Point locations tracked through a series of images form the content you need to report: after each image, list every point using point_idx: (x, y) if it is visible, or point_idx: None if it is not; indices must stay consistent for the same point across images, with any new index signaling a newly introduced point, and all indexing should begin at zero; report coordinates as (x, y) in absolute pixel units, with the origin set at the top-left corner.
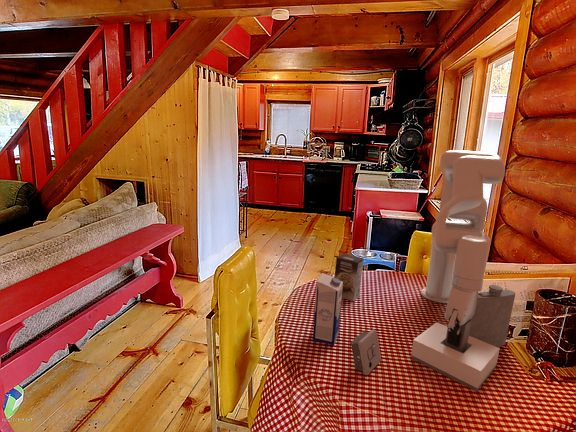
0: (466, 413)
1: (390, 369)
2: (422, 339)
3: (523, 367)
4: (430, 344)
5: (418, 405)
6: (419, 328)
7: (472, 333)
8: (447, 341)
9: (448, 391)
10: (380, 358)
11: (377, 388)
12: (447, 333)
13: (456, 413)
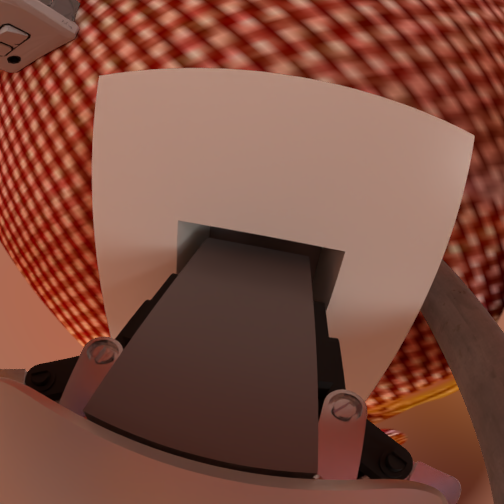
0: (72, 309)
1: (61, 84)
2: (134, 110)
3: (376, 407)
4: (117, 176)
5: (18, 216)
6: (459, 58)
7: (439, 344)
8: (171, 277)
9: (94, 265)
10: (69, 35)
11: (4, 119)
12: (163, 299)
13: (57, 291)
